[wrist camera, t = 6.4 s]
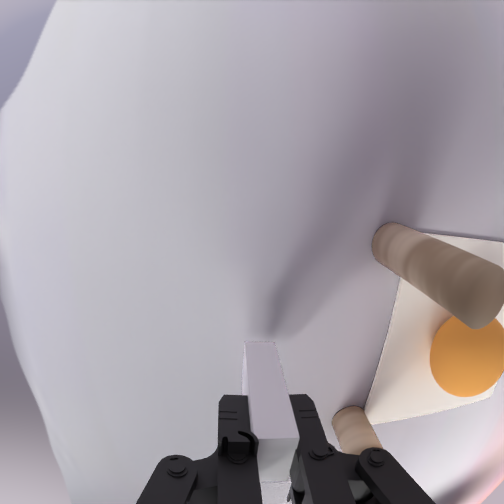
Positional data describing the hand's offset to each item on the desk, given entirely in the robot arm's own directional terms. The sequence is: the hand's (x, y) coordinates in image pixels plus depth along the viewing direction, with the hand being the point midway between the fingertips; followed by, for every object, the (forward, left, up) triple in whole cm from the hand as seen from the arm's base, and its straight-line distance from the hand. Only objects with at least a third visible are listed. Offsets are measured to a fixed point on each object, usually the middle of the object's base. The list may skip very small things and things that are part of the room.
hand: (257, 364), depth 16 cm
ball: (0, -13, +1) cm, 13 cm away
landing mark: (0, -15, -2) cm, 15 cm away
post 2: (+6, -7, -2) cm, 10 cm away
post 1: (-6, -7, -2) cm, 10 cm away
